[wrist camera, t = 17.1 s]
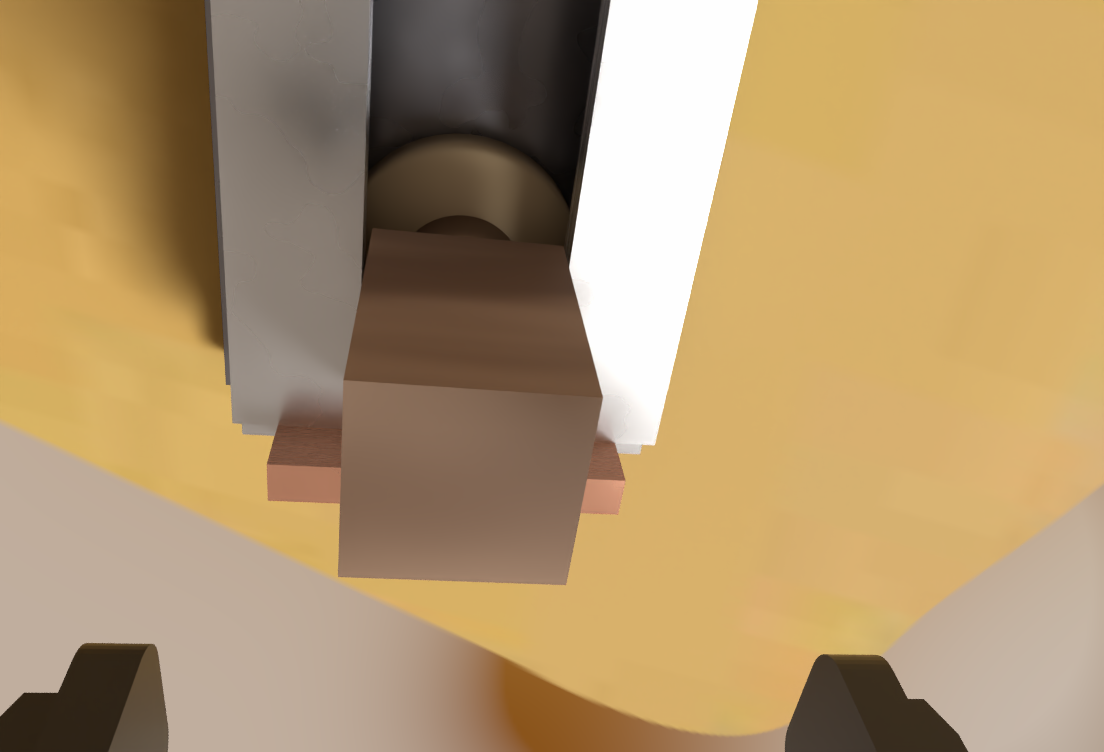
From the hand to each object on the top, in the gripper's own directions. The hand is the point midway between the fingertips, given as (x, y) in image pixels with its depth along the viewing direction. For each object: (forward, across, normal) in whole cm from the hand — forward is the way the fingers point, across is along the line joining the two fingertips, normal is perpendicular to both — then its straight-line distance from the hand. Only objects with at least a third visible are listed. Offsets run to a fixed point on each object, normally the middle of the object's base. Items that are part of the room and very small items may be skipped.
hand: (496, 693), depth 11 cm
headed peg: (+14, 0, 0) cm, 14 cm away
